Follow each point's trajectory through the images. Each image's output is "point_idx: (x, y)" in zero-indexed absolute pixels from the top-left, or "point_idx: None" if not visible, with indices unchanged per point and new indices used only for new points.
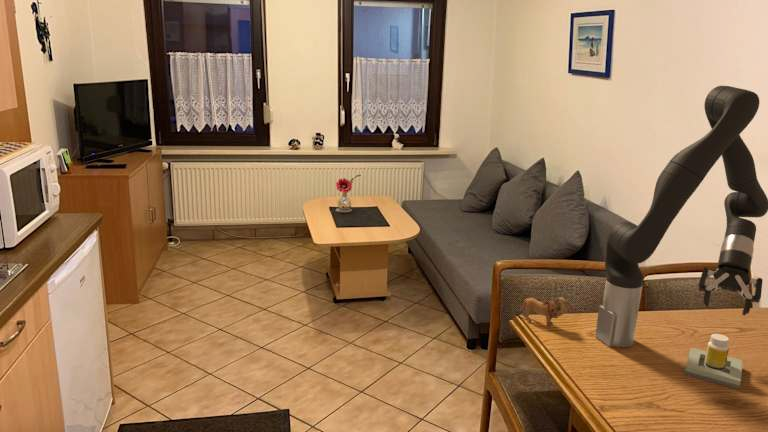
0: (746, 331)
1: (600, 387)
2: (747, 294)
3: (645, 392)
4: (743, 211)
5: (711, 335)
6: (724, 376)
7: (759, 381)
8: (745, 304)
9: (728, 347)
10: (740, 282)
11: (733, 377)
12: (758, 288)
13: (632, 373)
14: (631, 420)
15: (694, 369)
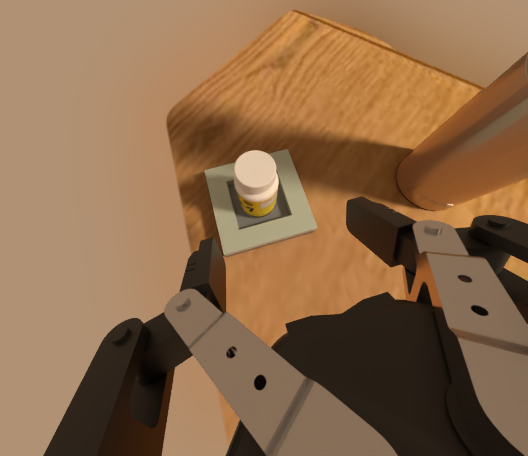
0: None
1: (342, 53)
2: (196, 311)
3: (299, 80)
4: None
5: (274, 162)
6: (229, 165)
7: (189, 230)
8: (205, 258)
9: (235, 182)
10: (274, 393)
11: (217, 172)
12: (81, 441)
13: (337, 107)
14: (279, 27)
15: (274, 152)
